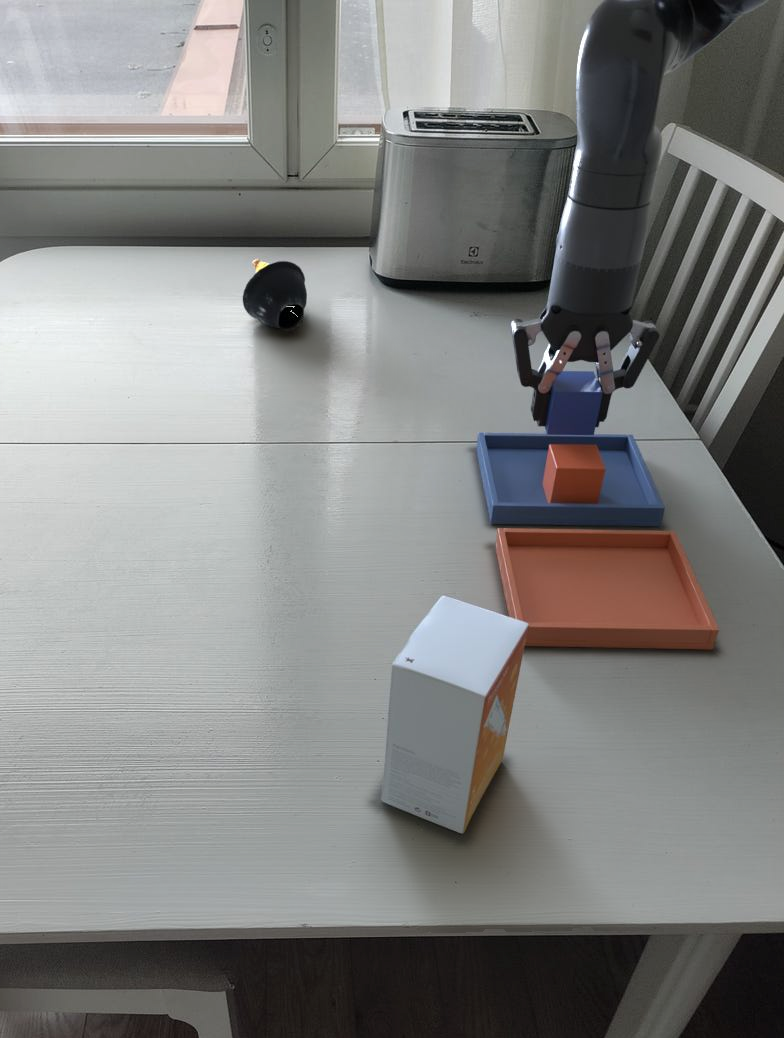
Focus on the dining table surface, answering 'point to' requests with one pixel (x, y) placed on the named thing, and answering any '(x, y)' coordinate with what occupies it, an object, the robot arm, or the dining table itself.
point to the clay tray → (603, 589)
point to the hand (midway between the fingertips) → (566, 422)
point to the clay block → (573, 474)
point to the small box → (451, 711)
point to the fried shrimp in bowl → (276, 294)
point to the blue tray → (521, 500)
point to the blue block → (574, 404)
